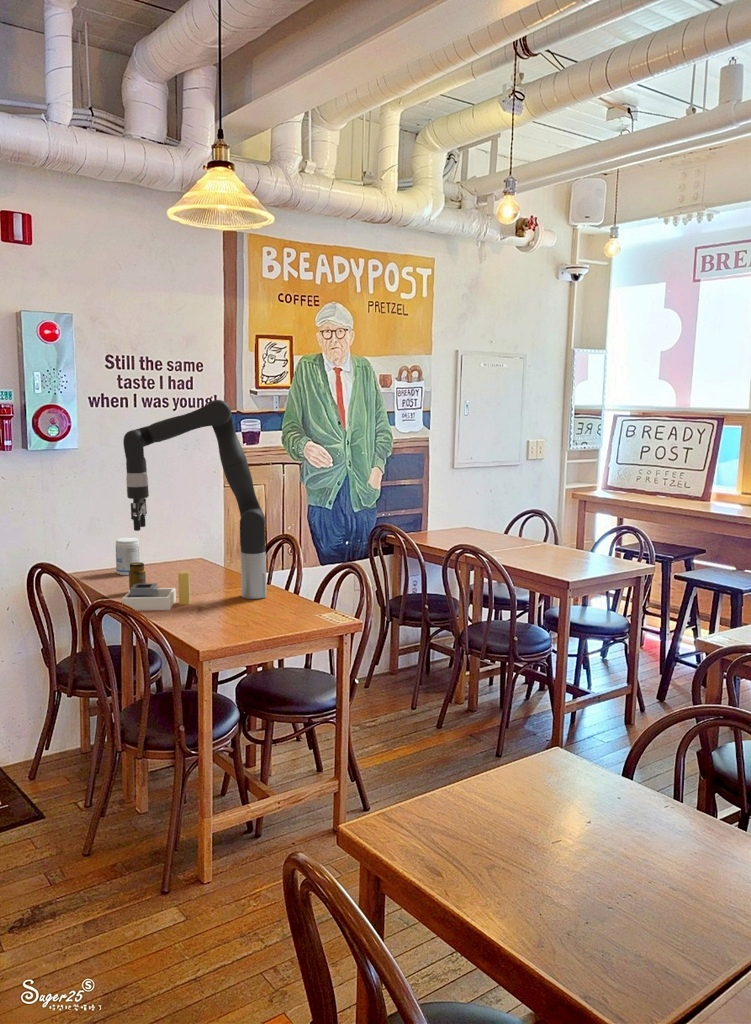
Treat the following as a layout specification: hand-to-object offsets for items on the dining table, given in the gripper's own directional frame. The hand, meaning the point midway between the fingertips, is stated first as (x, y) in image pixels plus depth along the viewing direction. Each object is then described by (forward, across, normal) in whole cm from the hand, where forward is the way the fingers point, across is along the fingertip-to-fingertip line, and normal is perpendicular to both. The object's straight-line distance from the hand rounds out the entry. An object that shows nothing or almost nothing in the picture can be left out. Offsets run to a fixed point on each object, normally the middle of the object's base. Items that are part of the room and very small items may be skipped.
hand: (139, 528), depth 298 cm
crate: (+27, -11, -5) cm, 29 cm away
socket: (+26, -11, -3) cm, 28 cm away
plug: (+27, -9, -17) cm, 33 cm away
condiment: (+27, +7, +4) cm, 28 cm away
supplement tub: (+26, +44, +16) cm, 53 cm away
